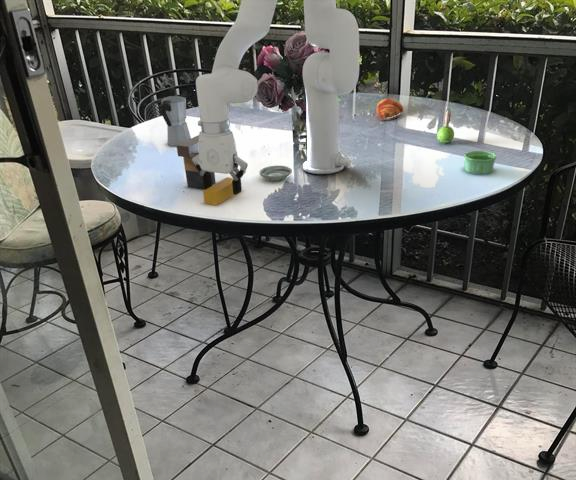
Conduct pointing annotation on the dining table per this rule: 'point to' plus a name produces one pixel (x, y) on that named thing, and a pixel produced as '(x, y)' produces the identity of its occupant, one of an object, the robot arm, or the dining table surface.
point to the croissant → (388, 108)
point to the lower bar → (188, 147)
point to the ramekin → (479, 162)
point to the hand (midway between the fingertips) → (222, 190)
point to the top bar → (218, 192)
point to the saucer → (275, 172)
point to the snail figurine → (446, 129)
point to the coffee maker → (175, 118)
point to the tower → (194, 174)
